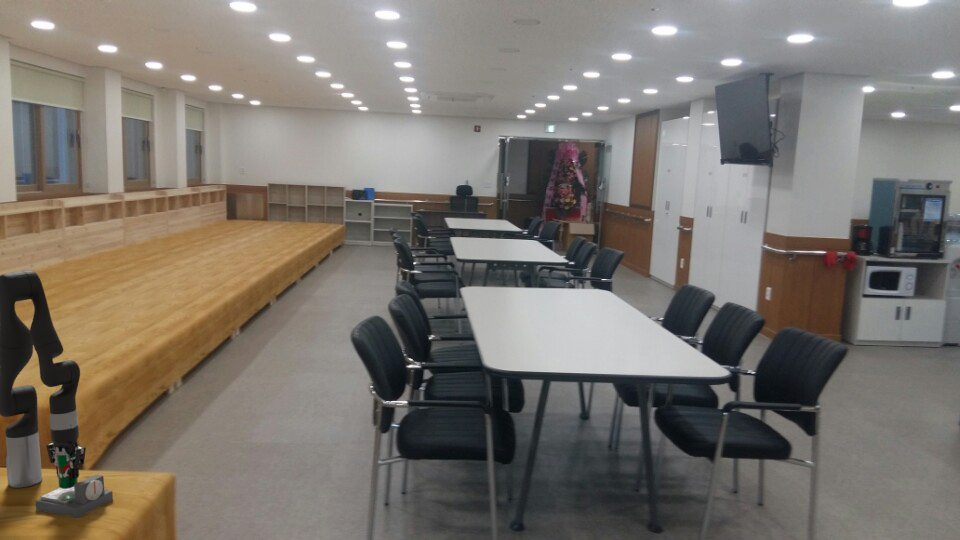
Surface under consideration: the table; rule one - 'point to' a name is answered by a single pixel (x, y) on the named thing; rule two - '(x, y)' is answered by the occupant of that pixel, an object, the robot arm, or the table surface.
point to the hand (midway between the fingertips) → (68, 477)
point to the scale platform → (60, 496)
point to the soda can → (65, 471)
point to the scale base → (80, 498)
